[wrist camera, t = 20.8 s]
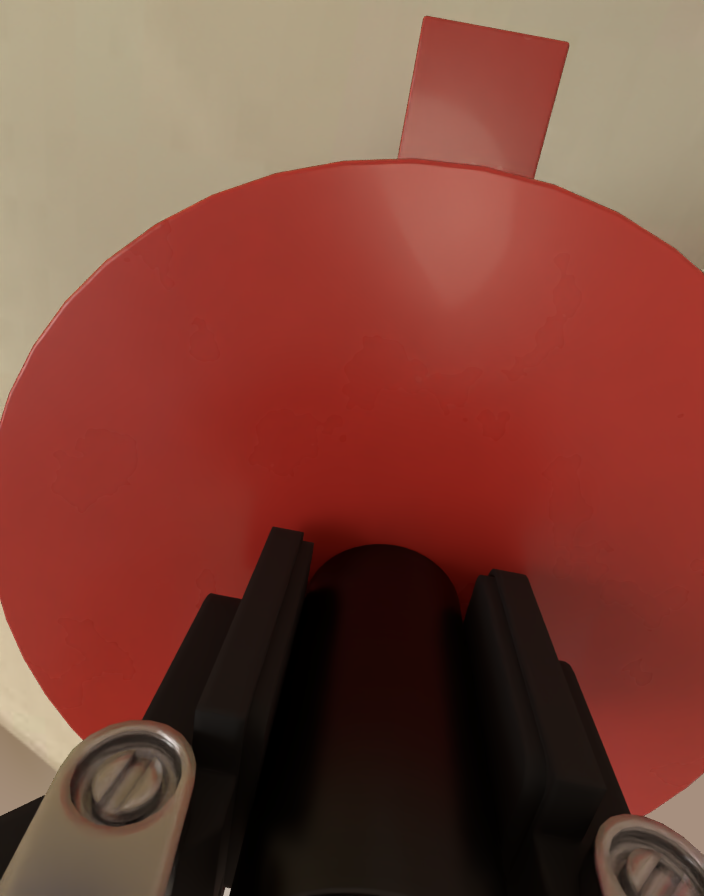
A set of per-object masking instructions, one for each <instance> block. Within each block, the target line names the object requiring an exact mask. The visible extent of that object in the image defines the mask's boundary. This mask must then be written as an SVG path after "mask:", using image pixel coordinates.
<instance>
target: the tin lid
mask: <svg viewBox="0 0 704 896" xmlns="http://www.w3.org/2000/svg"><path fill="white" fill-rule="evenodd" d="M273 526H274V527H280V528H285V529H290V530H295V531H300V532H304V537H303V541H308V542H313V543H314V548H313V554H312V560H311V566H310V572H309V577H308V583H307V589H306V595H305V600H304V604H303V608H302V612H301V616H300V620H299V624H298V628H297V632H296V636H295V640H294V644H293V648H292V652H291V656H290V660H289V664H288V668H287V672H286V676H285V680H284V684H283V688H282V692H281V696H280V700H279V704H278V708H277V712H276V716H275V720H274V724H273V728H272V732H271V736H270V740H269V744H268V748H267V752H266V756H265V760H264V764H263V768H262V772H261V776H260V780H259V784H258V788H257V792H256V796H255V800H254V804H253V807H252V809H251V812H250V816H249V820H248V824H247V827H246V831H245V835H244V839H243V843H242V847H241V851H240V855H239V859H238V863H237V867H236V871H235V875H234V879H233V883H232V887H231V891H230V895H229V896H508V890H507V884H506V878H505V872H504V866H503V860H502V854H501V848H500V842H499V836H498V830H497V824H496V818H495V812H494V806H493V800H492V794H491V788H490V783H489V777H488V771H487V765H486V759H485V753H484V747H483V741H482V735H481V729H480V723H479V717H478V711H477V705H476V699H475V693H474V687H473V681H472V675H471V669H470V663H469V657H468V651H467V645H466V639H465V633H464V627H463V622H464V619H465V615H466V612H467V609H468V605H469V602H470V599H471V596H472V592H473V589H474V586H475V583H476V580H477V578H478V576H479V575H486V576H488V574H489V573H490V571H491V570H492V569H493V568H494V569H499V570H504V571H509V572H514V573H520V574H524V575H526V576H527V578H528V580H529V582H530V585H531V588H532V590H533V593H534V596H535V598H536V601H537V604H538V606H539V609H540V612H541V614H542V617H543V620H544V622H545V625H546V628H547V630H548V633H549V636H550V638H551V641H552V644H553V646H554V649H555V652H556V654H557V657H558V660H561V661H565V662H567V663H568V664H570V666H571V667H572V669H573V671H574V673H575V675H576V678H577V680H578V683H579V685H580V688H581V690H582V693H583V695H584V698H585V700H586V703H587V705H588V708H589V710H590V713H591V715H592V718H593V720H594V723H595V725H596V728H597V730H598V733H599V735H600V738H601V740H602V743H603V745H604V748H605V750H606V753H607V755H608V758H609V760H610V763H611V765H612V768H613V771H614V773H615V776H616V778H617V781H618V783H619V786H620V788H621V791H622V793H623V796H624V798H625V801H626V803H627V806H628V808H629V811H630V813H631V814H632V815H640V816H645V815H646V814H648V813H650V812H652V811H653V810H655V809H656V808H658V807H659V806H661V805H662V804H664V803H665V802H666V801H668V800H669V799H671V798H672V797H674V796H675V795H676V794H678V793H679V792H681V791H683V790H684V789H686V788H687V787H688V786H689V785H691V784H692V783H693V782H694V781H695V780H696V779H698V778H699V777H700V776H701V775H702V774H703V773H704V273H703V272H702V271H700V270H699V269H698V268H697V267H696V266H695V265H694V264H692V263H691V262H690V261H689V260H688V259H687V258H686V257H684V256H683V255H682V254H681V253H680V252H679V251H678V250H677V249H675V248H674V247H672V246H671V245H669V244H668V243H666V242H664V241H663V240H661V239H660V238H658V237H657V236H655V235H653V234H652V233H650V232H649V231H647V230H645V229H644V228H642V227H641V226H639V225H637V224H636V223H634V222H633V221H631V220H630V219H628V218H626V217H625V216H623V215H622V214H620V213H618V212H616V211H614V210H612V209H609V208H607V207H605V206H603V205H600V204H598V203H596V202H593V201H591V200H589V199H586V198H584V197H582V196H579V195H577V194H575V193H573V192H570V191H568V190H566V189H563V188H561V187H559V186H556V185H554V184H550V183H547V182H543V181H539V180H535V179H532V178H528V177H524V176H520V175H516V174H513V173H509V172H505V171H501V170H498V169H494V168H490V167H486V166H479V165H470V164H461V163H452V162H443V161H434V160H425V159H416V158H409V159H380V160H351V161H340V162H334V163H329V164H323V165H318V166H312V167H307V168H301V169H296V170H290V171H285V172H279V173H275V174H272V175H269V176H266V177H263V178H260V179H257V180H254V181H251V182H248V183H245V184H242V185H239V186H237V187H234V188H231V189H228V190H225V191H222V192H219V193H216V194H213V195H211V196H209V197H207V198H205V199H203V200H201V201H199V202H197V203H195V204H193V205H192V206H190V207H188V208H186V209H184V210H182V211H180V212H178V213H176V214H174V215H172V216H170V217H168V218H167V219H165V220H163V221H161V222H159V223H157V224H155V225H154V226H152V227H151V228H150V229H148V230H147V231H145V232H144V233H143V234H141V235H140V236H139V237H137V238H136V239H135V240H133V241H132V242H130V243H129V244H128V245H126V246H125V247H124V248H122V249H121V250H119V251H118V252H117V253H115V254H114V255H113V256H111V257H110V258H109V259H107V260H106V261H105V262H104V263H103V264H102V265H101V266H100V267H99V268H98V269H97V270H96V271H95V272H94V273H93V274H92V275H91V276H90V277H89V278H88V279H87V280H86V281H85V282H84V283H83V284H82V285H81V286H80V287H79V288H78V289H77V290H76V291H75V292H74V293H73V294H72V295H71V296H70V297H69V298H68V299H67V300H66V301H65V302H64V304H63V305H62V306H61V308H60V309H59V311H58V312H57V313H56V315H55V316H54V318H53V319H52V320H51V322H50V323H49V325H48V326H47V327H46V329H45V330H44V331H43V333H42V334H41V336H40V337H39V338H38V340H37V341H36V343H35V344H34V345H33V347H32V349H31V351H30V353H29V355H28V357H27V359H26V361H25V363H24V365H23V367H22V369H21V371H20V373H19V375H18V377H17V379H16V381H15V383H14V385H13V387H12V389H11V391H10V393H9V396H8V399H7V402H6V405H5V408H4V411H3V415H2V418H1V421H0V600H1V604H2V607H3V610H4V614H5V617H6V620H7V622H8V625H9V627H10V629H11V631H12V634H13V636H14V638H15V640H16V643H17V645H18V647H19V649H20V652H21V654H22V656H23V658H24V660H25V662H26V663H27V665H28V667H29V668H30V670H31V672H32V673H33V675H34V677H35V678H36V680H37V682H38V683H39V685H40V687H41V688H42V690H43V691H44V693H45V695H46V696H47V697H48V699H49V700H50V701H51V703H52V704H53V705H54V706H55V708H56V709H57V710H58V712H59V713H60V714H61V715H62V717H63V718H64V719H65V721H66V722H67V723H68V724H69V726H70V727H71V728H72V729H73V730H74V731H75V732H76V733H77V734H78V735H79V736H80V738H81V739H82V740H84V739H86V738H87V737H88V736H89V735H91V734H93V733H95V732H97V731H99V730H101V729H103V728H105V727H107V726H109V725H112V724H116V723H120V722H124V721H128V720H142V719H143V717H144V715H145V713H146V711H147V709H148V707H149V705H150V703H151V701H152V699H153V697H154V695H155V694H156V692H157V690H158V688H159V686H160V684H161V682H162V680H163V678H164V676H165V674H166V672H167V671H168V669H169V667H170V665H171V663H172V661H173V659H174V657H175V655H176V653H177V651H178V649H179V648H180V646H181V644H182V642H183V640H184V638H185V636H186V634H187V632H188V630H189V628H190V626H191V624H192V623H193V621H194V619H195V617H196V615H197V613H198V611H199V609H200V607H201V605H202V603H203V601H204V600H205V598H206V597H207V595H208V594H210V593H213V594H218V595H224V596H229V597H234V598H239V599H242V597H243V595H244V593H245V590H246V588H247V586H248V583H249V581H250V578H251V576H252V574H253V571H254V569H255V567H256V564H257V562H258V559H259V557H260V555H261V552H262V550H263V548H264V545H265V543H266V540H267V538H268V536H269V533H270V531H271V529H272V527H273Z"/></svg>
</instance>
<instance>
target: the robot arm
mask: <svg viewBox="0 0 704 896" xmlns="http://www.w3.org/2000/svg"><path fill="white" fill-rule="evenodd" d="M303 537H304V532H300V531H295V530H290V529H285V528H280V527H274V526H273V527H272V529H271V531H270V533H269V536H268V538H267V540H266V543H265V545H264V548H263V550H262V552H261V555H260V557H259V559H258V562H257V564H256V567H255V569H254V571H253V574H252V576H251V578H250V581H249V583H248V586H247V588H246V590H245V593H244V595H243V597H242V599H239V598H234V597H229V596H224V595H218V594H213V593H210V594H208V595H207V597H206V598H205V600H204V601H203V603H202V605H201V607H200V609H199V611H198V613H197V615H196V617H195V619H194V621H193V623H192V624H191V626H190V628H189V630H188V632H187V634H186V636H185V638H184V640H183V642H182V644H181V646H180V648H179V649H178V651H177V653H176V655H175V657H174V659H173V661H172V663H171V665H170V667H169V669H168V671H167V672H166V674H165V676H164V678H163V680H162V682H161V684H160V686H159V688H158V690H157V692H156V694H155V695H154V697H153V699H152V701H151V703H150V705H149V707H148V709H147V711H146V713H145V715H144V717H143V719H142V720H128V721H124V722H120V723H116V724H112V725H109V726H107V727H105V728H103V729H101V730H99V731H97V732H95V733H93V734H91V735H89V736H88V737H87V738H86V739H84V740H83V741H82V742H81V743H80V744H78V745H77V746H76V747H75V748H74V749H73V750H72V751H71V752H70V754H69V755H68V757H67V758H66V759H65V761H64V762H63V764H62V765H61V766H60V768H59V770H58V772H57V774H56V776H55V778H54V780H53V781H52V783H51V785H50V787H49V789H48V791H47V793H46V795H44V796H42V797H40V798H37V799H35V800H33V801H31V802H29V803H27V804H25V805H23V806H21V807H19V808H17V809H14V810H12V811H10V812H8V813H6V814H4V815H2V816H0V896H223V894H224V890H225V887H227V888H231V887H232V883H233V879H234V875H235V871H236V867H237V863H238V859H239V855H240V851H241V847H242V843H243V839H244V835H245V831H246V827H247V824H248V820H249V816H250V812H251V809H252V807H253V804H254V800H255V796H256V792H257V788H258V784H259V780H260V776H261V772H262V768H263V764H264V760H265V756H266V752H267V748H268V744H269V740H270V736H271V732H272V728H273V724H274V720H275V716H276V712H277V708H278V704H279V700H280V696H281V692H282V688H283V684H284V680H285V676H286V672H287V668H288V664H289V660H290V656H291V652H292V648H293V644H294V640H295V636H296V632H297V628H298V624H299V620H300V616H301V612H302V608H303V604H304V600H305V595H306V589H307V583H308V577H309V572H310V566H311V560H312V554H313V548H314V543H313V542H308V541H303ZM463 627H464V633H465V639H466V645H467V651H468V657H469V663H470V669H471V675H472V681H473V687H474V693H475V699H476V705H477V711H478V717H479V723H480V729H481V735H482V741H483V747H484V753H485V759H486V765H487V771H488V777H489V783H490V788H491V794H492V800H493V806H494V812H495V818H496V824H497V830H498V836H499V842H500V848H501V854H502V860H503V866H504V872H505V878H506V884H507V890H508V896H704V855H703V854H702V853H701V852H700V851H699V850H698V849H696V848H695V847H694V846H693V845H692V844H691V843H690V842H689V841H687V840H686V839H685V838H684V837H682V836H681V835H680V834H678V833H676V832H675V831H673V830H672V829H670V828H669V827H667V826H665V825H664V824H662V823H660V822H657V821H655V820H652V819H649V818H647V817H644V816H640V815H632V814H631V813H630V811H629V808H628V806H627V803H626V801H625V798H624V796H623V793H622V791H621V788H620V786H619V783H618V781H617V778H616V776H615V773H614V771H613V768H612V765H611V763H610V760H609V758H608V755H607V753H606V750H605V748H604V745H603V743H602V740H601V738H600V735H599V733H598V730H597V728H596V725H595V723H594V720H593V718H592V715H591V713H590V710H589V708H588V705H587V703H586V700H585V698H584V695H583V693H582V690H581V688H580V685H579V683H578V680H577V678H576V675H575V673H574V671H573V669H572V667H571V666H570V664H568V663H567V662H565V661H561V660H558V657H557V654H556V652H555V649H554V646H553V644H552V641H551V638H550V636H549V633H548V630H547V628H546V625H545V622H544V620H543V617H542V614H541V612H540V609H539V606H538V604H537V601H536V598H535V596H534V593H533V590H532V588H531V585H530V582H529V580H528V578H527V576H526V575H524V574H520V573H514V572H509V571H504V570H499V569H494V568H493V569H492V570H491V571H490V573H489V574H488V576H486V575H479V576H478V578H477V580H476V583H475V586H474V589H473V592H472V596H471V599H470V602H469V605H468V609H467V612H466V615H465V619H464V622H463Z"/></svg>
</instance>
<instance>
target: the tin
mask: <svg viewBox="0 0 704 896" xmlns="http://www.w3.org/2000/svg"><path fill="white" fill-rule="evenodd" d="M568 49H569V43H568V42H565V41H560V40H555V39H549V38H544V37H539V36H533V35H528V34H522V33H517V32H512V31H506V30H501V29H496V28H490V27H485V26H479V25H474V24H469V23H463V22H458V21H453V20H447V19H442V18H436V17H431V16H424V18H423V22H422V27H421V33H420V38H419V44H418V49H417V55H416V60H415V66H414V71H413V77H412V82H411V88H410V93H409V99H408V104H407V109H406V115H405V120H404V126H403V131H402V137H401V142H400V148H399V153H398V159H409V158H416V159H425V160H434V161H443V162H452V163H461V164H470V165H479V166H486V167H490V168H494V169H498V170H501V171H505V172H509V173H513V174H516V175H520V176H524V177H528V178H532V179H534V177H535V173H536V169H537V165H538V162H539V158H540V154H541V150H542V147H543V143H544V139H545V135H546V132H547V128H548V124H549V120H550V117H551V113H552V109H553V105H554V102H555V98H556V94H557V90H558V87H559V83H560V79H561V75H562V72H563V68H564V64H565V60H566V57H567V53H568Z"/></svg>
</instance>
